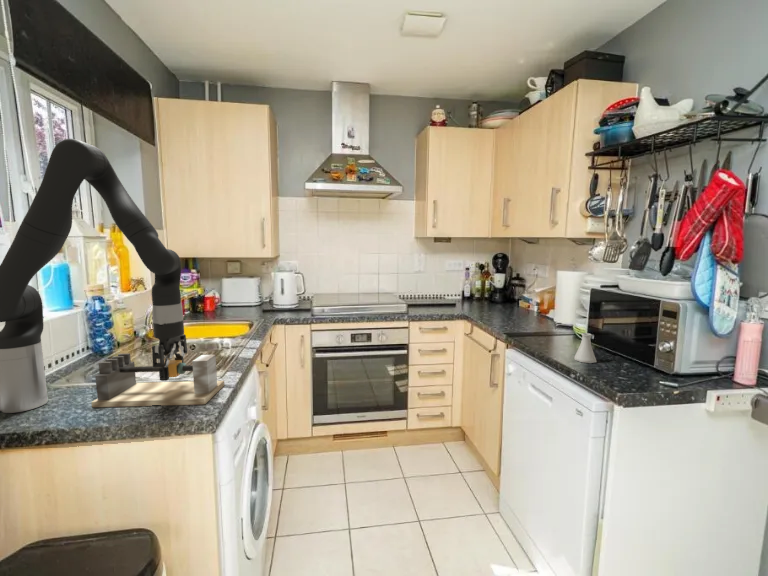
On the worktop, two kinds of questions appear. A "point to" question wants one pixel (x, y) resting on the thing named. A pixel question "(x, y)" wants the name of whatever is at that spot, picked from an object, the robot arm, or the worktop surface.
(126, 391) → the cord board
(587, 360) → the flask
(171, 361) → the sleeve
